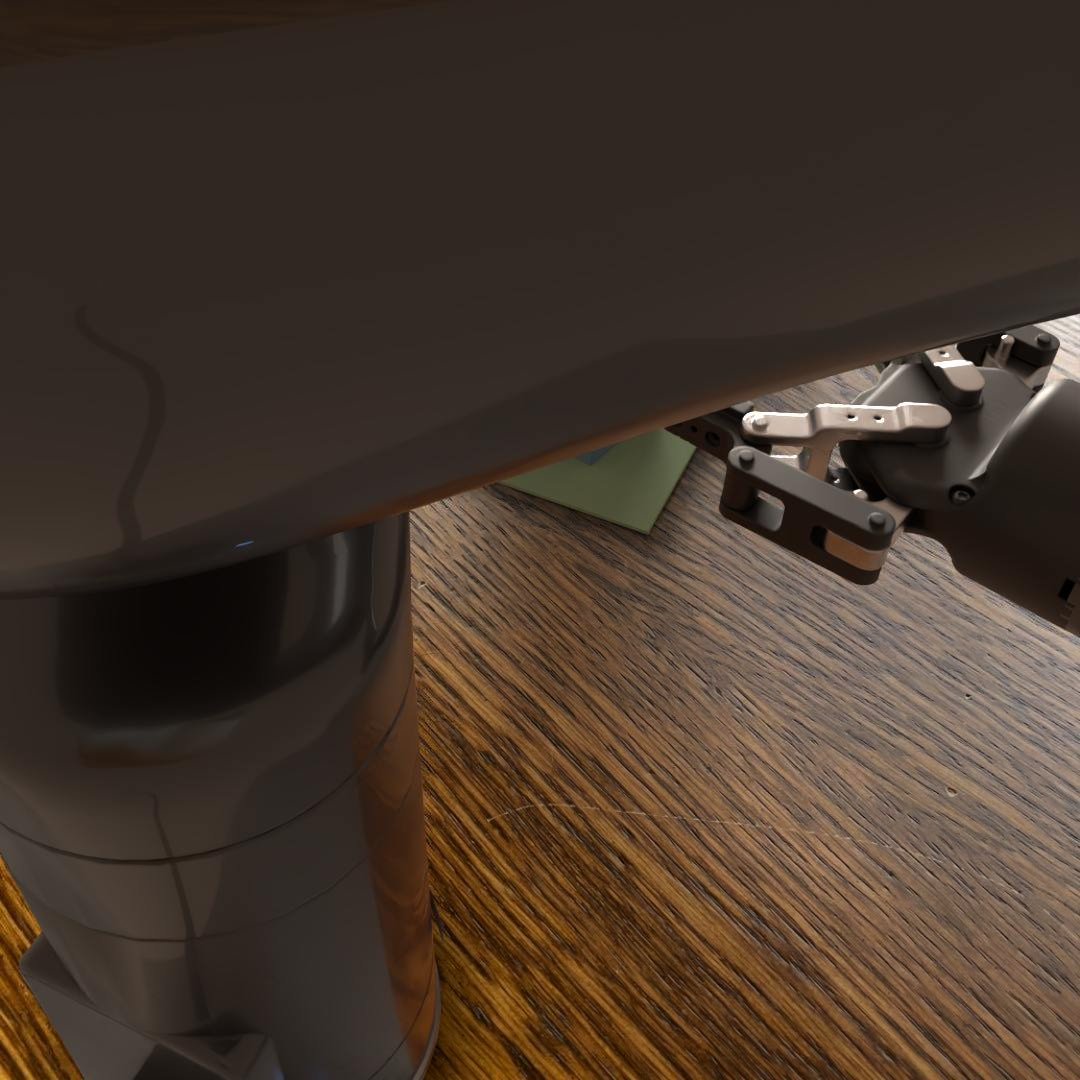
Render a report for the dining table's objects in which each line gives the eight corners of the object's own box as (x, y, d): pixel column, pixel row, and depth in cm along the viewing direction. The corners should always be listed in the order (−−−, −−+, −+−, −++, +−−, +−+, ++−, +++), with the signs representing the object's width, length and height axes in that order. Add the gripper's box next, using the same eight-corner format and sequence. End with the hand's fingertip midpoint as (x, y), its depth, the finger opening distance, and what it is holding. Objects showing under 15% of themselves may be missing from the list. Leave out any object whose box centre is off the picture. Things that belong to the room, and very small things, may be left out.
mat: (647, 534, 52) (648, 531, 52) (412, 453, 55) (412, 450, 55) (733, 382, 59) (734, 379, 59) (520, 317, 62) (520, 314, 62)
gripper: (1255, 345, 43) (838, 174, 50) (1086, 583, 35) (619, 341, 42) (1169, 503, 48) (803, 329, 55) (1005, 739, 41) (604, 502, 47)
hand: (724, 335), depth 49 cm, fingers open, 8 cm apart
